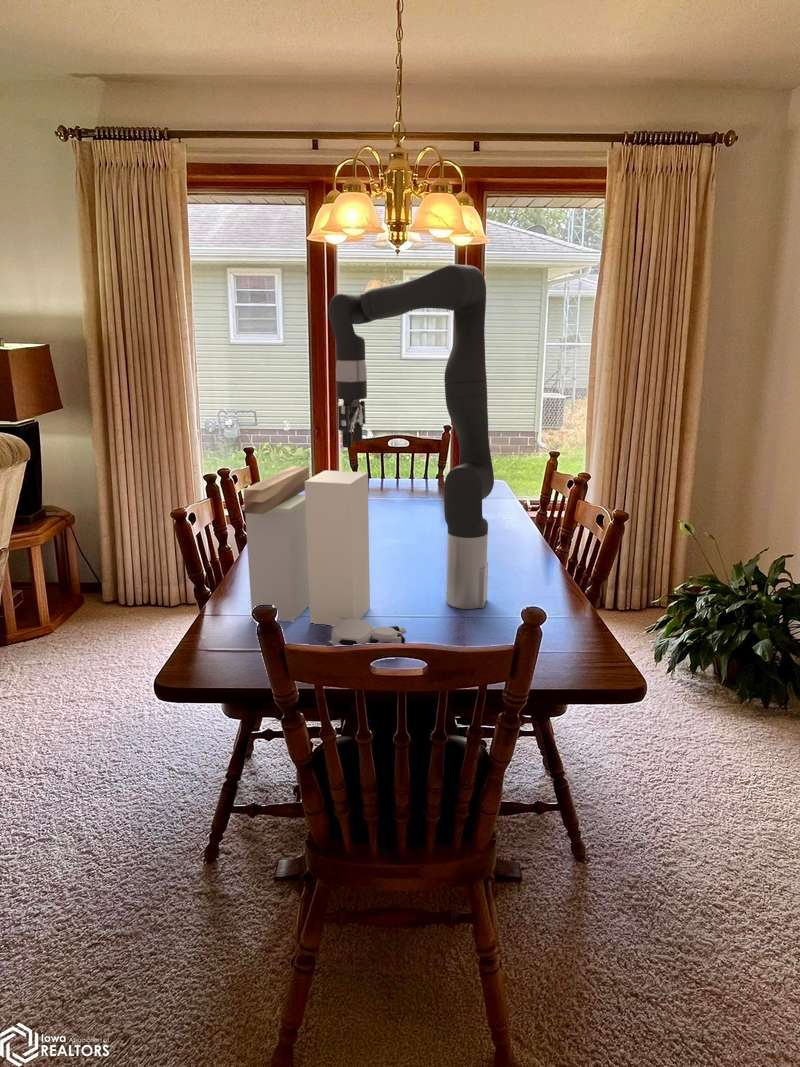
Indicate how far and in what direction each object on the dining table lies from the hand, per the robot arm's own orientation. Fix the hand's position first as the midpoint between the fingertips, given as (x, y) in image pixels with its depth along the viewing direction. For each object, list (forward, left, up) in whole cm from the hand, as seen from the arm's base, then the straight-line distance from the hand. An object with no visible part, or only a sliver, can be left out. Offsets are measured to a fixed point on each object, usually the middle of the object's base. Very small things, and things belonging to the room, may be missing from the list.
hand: (352, 444), depth 180 cm
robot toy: (-17, +43, -34) cm, 58 cm away
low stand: (+8, +29, -34) cm, 45 cm away
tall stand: (-6, +29, -34) cm, 45 cm away
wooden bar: (+8, +28, -8) cm, 30 cm away
